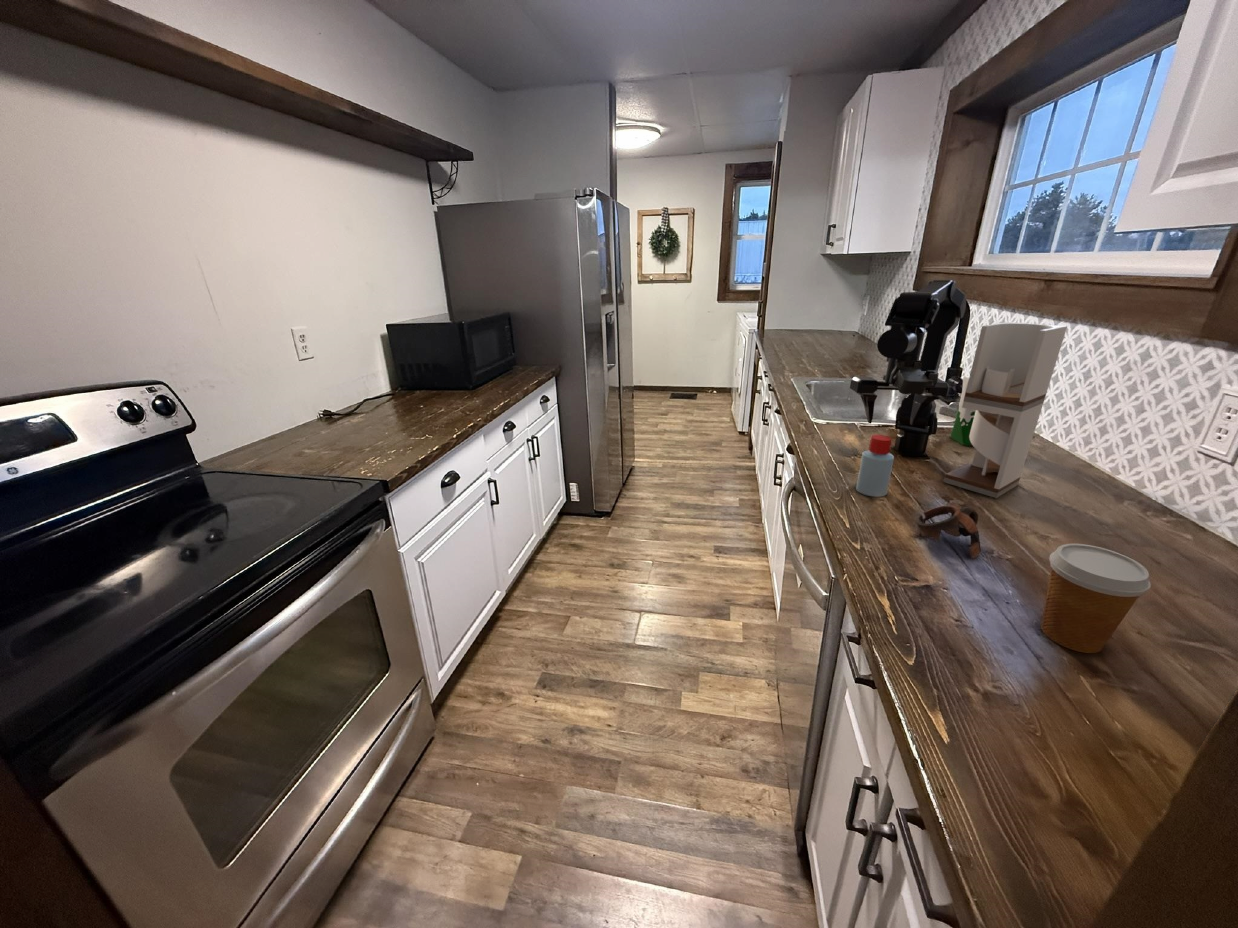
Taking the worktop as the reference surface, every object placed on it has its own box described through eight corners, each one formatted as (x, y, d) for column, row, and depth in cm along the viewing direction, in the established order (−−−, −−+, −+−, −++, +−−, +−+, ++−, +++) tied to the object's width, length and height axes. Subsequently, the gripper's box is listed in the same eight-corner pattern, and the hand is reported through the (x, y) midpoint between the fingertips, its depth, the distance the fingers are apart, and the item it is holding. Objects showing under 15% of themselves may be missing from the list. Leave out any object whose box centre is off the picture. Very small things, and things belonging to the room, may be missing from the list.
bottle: (881, 485, 113) (891, 436, 108) (890, 497, 107) (901, 445, 103) (852, 484, 114) (861, 435, 109) (860, 495, 108) (869, 444, 104)
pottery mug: (971, 569, 82) (951, 527, 82) (917, 566, 91) (898, 527, 90) (1004, 532, 87) (986, 492, 87) (950, 532, 96) (933, 495, 95)
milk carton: (961, 446, 135) (980, 374, 128) (944, 436, 144) (961, 367, 136) (995, 447, 135) (1016, 374, 127) (976, 436, 143) (995, 367, 135)
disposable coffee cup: (1008, 616, 71) (1033, 543, 66) (1070, 611, 71) (1099, 539, 67) (1070, 665, 62) (1103, 586, 57) (1140, 659, 63) (1178, 580, 58)
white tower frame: (966, 470, 120) (1005, 322, 107) (1017, 485, 112) (1067, 326, 99) (943, 481, 114) (982, 326, 101) (996, 498, 106) (1045, 330, 93)
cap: (885, 448, 108) (888, 435, 107) (891, 454, 105) (894, 440, 104) (866, 447, 109) (868, 434, 108) (871, 453, 105) (874, 440, 104)
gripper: (872, 357, 100) (859, 431, 105) (971, 360, 98) (952, 435, 103) (855, 351, 110) (843, 418, 116) (943, 353, 108) (928, 422, 113)
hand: (890, 423), depth 112 cm, fingers open, 9 cm apart
